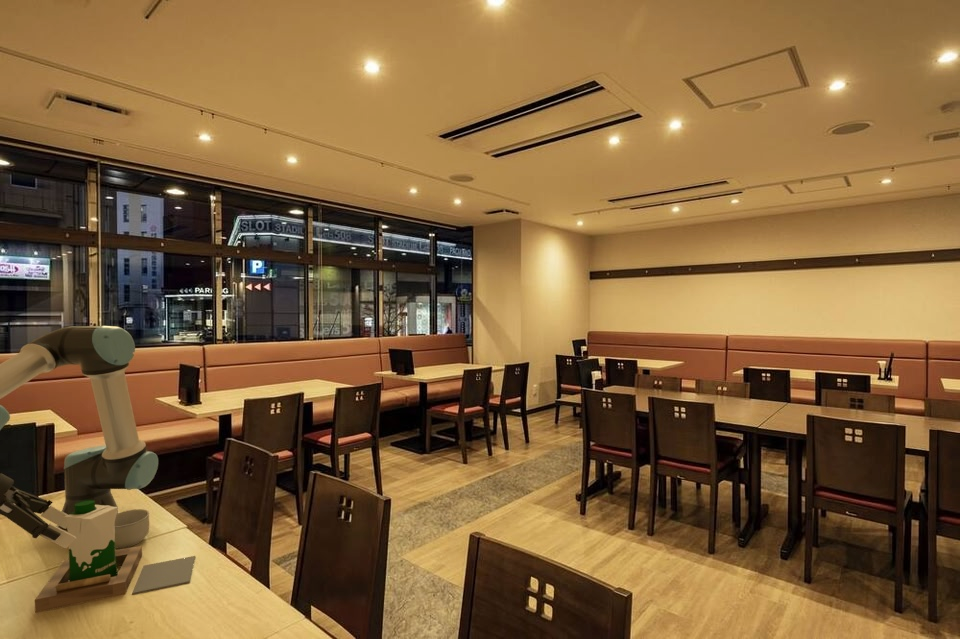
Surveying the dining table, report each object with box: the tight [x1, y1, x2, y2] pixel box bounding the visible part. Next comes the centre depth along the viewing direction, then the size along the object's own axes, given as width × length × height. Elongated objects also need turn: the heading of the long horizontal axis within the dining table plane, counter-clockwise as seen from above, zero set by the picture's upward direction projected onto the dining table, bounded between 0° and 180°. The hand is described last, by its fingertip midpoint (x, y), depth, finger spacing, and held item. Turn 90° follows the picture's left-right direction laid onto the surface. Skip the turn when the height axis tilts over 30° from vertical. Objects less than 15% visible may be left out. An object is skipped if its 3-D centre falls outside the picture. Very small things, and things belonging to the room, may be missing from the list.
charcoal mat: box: [131, 555, 196, 595], centre depth 128 cm, size 14×12×1 cm
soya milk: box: [64, 500, 119, 582], centre depth 125 cm, size 9×9×20 cm
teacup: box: [115, 508, 150, 549], centre depth 146 cm, size 14×11×8 cm
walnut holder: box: [34, 545, 143, 613], centre depth 125 cm, size 20×17×5 cm
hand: (70, 533), depth 121 cm, fingers open, 13 cm apart
